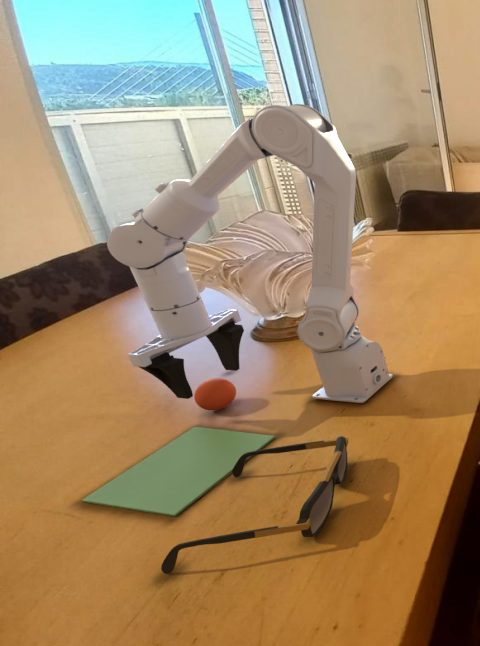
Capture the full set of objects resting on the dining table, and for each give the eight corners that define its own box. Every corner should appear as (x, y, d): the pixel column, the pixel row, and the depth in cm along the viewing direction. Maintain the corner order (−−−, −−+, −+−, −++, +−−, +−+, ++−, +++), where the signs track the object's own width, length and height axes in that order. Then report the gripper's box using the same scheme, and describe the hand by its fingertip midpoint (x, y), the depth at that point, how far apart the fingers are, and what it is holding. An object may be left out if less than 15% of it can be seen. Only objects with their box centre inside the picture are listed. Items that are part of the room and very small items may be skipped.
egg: (248, 399, 77) (238, 373, 75) (219, 418, 72) (207, 391, 71) (223, 396, 78) (211, 370, 76) (192, 415, 73) (180, 388, 71)
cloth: (275, 437, 68) (274, 435, 68) (175, 516, 55) (174, 514, 55) (195, 428, 71) (194, 426, 70) (82, 501, 58) (81, 500, 58)
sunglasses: (235, 476, 61) (221, 446, 59) (362, 456, 64) (352, 427, 62) (164, 575, 48) (143, 540, 46) (325, 545, 51) (312, 511, 49)
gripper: (201, 282, 75) (231, 356, 81) (93, 323, 62) (137, 408, 67) (239, 284, 74) (266, 359, 79) (136, 326, 61) (178, 413, 66)
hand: (210, 382), depth 73 cm, fingers open, 7 cm apart
